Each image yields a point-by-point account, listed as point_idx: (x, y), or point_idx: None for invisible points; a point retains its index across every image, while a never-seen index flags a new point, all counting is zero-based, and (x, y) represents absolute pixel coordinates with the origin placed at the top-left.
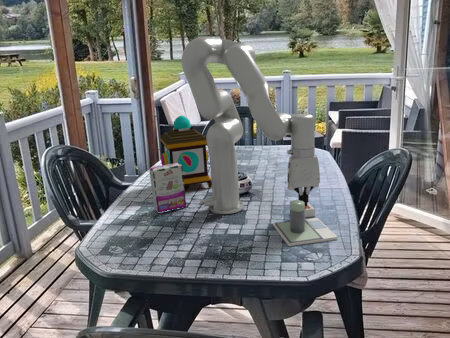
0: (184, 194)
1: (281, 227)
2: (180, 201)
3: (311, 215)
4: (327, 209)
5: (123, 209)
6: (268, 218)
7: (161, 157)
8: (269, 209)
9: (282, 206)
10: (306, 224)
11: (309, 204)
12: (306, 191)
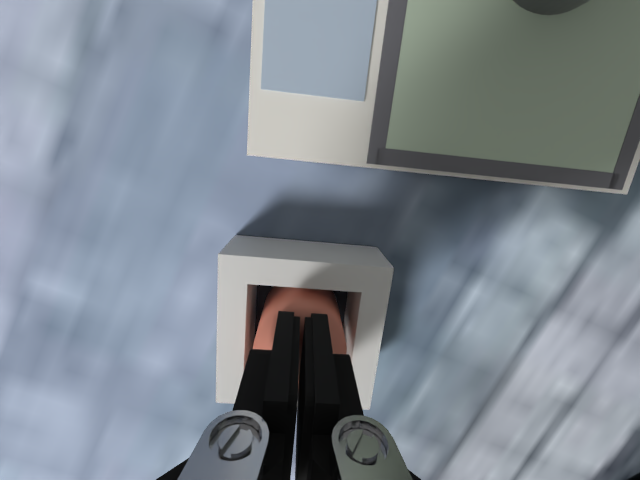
0: None
1: (634, 74)
2: None
3: (264, 239)
4: (87, 317)
5: None
6: (557, 324)
7: None
8: (468, 449)
9: None
10: (413, 37)
11: (223, 368)
12: (260, 469)
